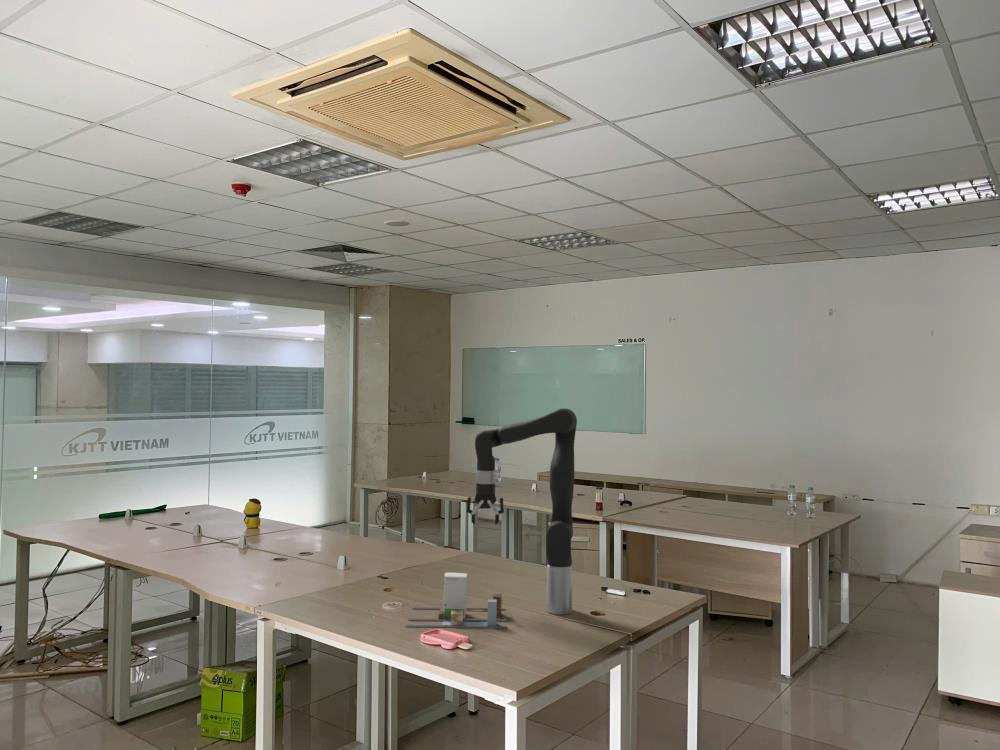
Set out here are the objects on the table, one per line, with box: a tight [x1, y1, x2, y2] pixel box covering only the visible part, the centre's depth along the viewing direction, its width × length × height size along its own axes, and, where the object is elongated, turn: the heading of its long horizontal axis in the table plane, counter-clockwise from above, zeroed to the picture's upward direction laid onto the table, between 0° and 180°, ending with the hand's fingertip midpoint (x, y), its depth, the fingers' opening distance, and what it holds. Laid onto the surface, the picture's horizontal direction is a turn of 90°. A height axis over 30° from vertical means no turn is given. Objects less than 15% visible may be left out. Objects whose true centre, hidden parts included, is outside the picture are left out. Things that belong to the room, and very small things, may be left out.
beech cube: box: [451, 610, 464, 625], centre depth 239 cm, size 4×4×4 cm
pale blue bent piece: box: [441, 598, 497, 626], centre depth 240 cm, size 18×5×9 cm, turn 91°
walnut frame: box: [438, 593, 503, 619], centre depth 250 cm, size 22×12×8 cm, turn 91°
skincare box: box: [442, 572, 468, 618], centre depth 249 cm, size 8×7×16 cm
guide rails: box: [405, 606, 508, 629], centre depth 246 cm, size 34×22×2 cm, turn 91°
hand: (485, 524), depth 270 cm, fingers open, 8 cm apart
